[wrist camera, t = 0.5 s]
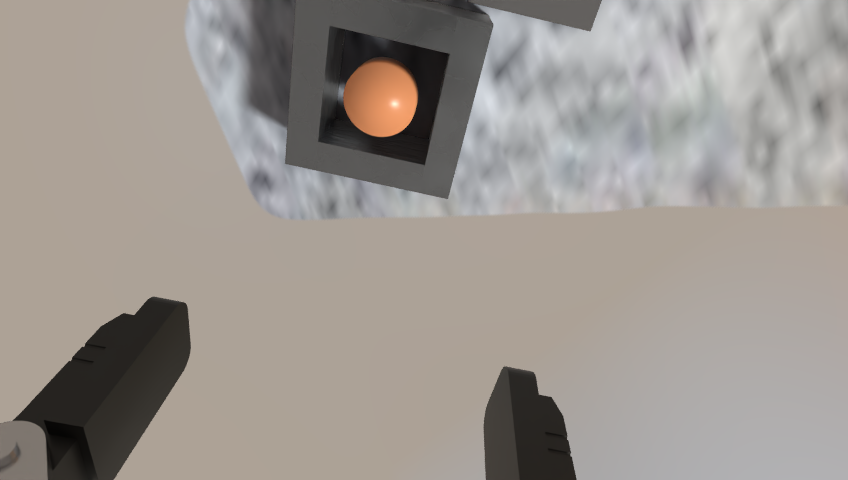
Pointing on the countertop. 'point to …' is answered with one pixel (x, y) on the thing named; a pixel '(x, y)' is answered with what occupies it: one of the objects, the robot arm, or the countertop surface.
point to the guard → (319, 83)
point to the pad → (550, 10)
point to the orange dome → (381, 97)
